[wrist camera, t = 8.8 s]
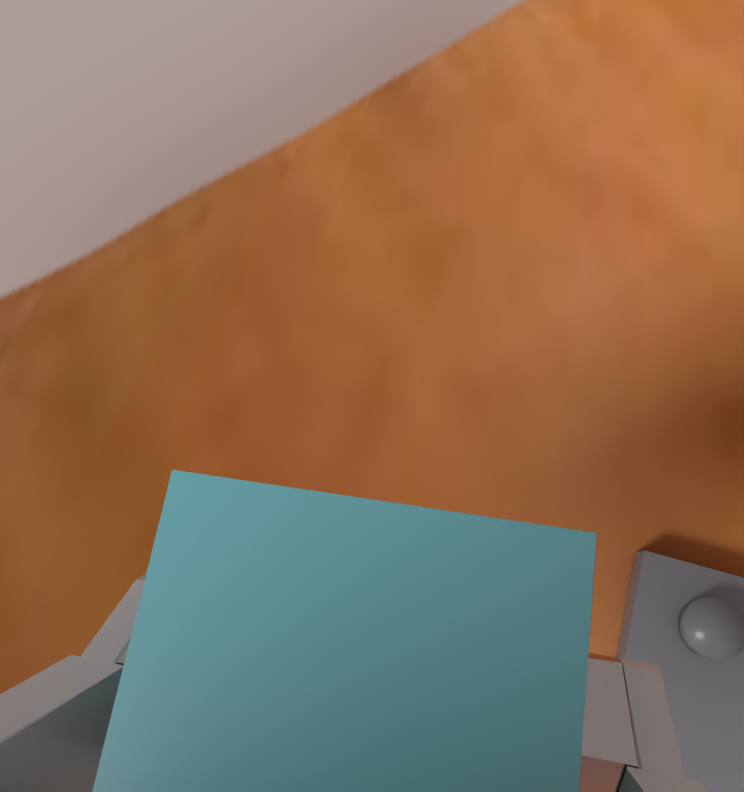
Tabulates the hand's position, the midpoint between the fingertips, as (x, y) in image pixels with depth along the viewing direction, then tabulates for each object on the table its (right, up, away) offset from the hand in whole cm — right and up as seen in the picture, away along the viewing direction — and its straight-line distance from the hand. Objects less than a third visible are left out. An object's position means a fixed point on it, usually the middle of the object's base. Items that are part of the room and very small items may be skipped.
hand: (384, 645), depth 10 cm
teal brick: (0, -2, +4) cm, 4 cm away
